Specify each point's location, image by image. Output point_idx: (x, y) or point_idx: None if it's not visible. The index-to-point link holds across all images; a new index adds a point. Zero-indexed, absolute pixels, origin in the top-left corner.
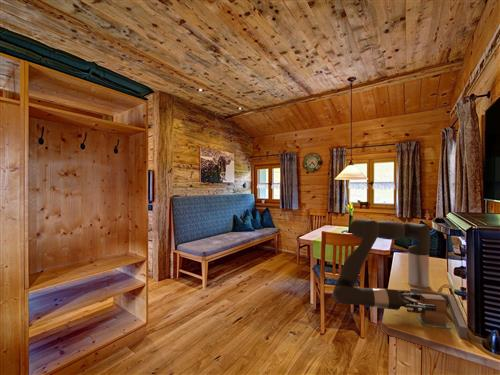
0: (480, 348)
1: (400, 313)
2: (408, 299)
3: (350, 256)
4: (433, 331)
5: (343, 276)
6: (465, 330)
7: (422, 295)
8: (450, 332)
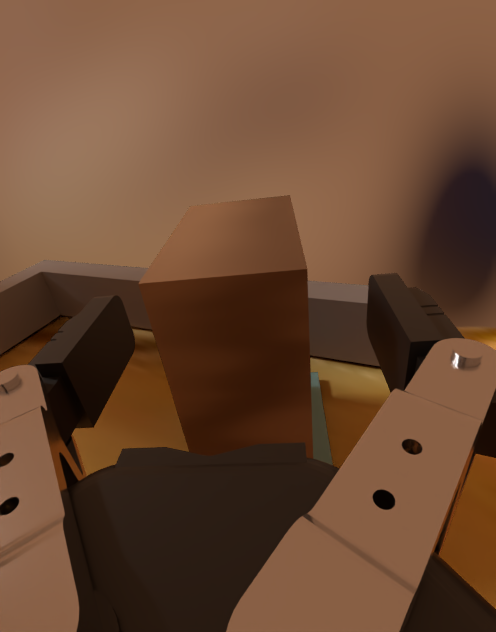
0: (474, 335)
1: None
2: (419, 597)
3: None
4: None
5: None
6: None
7: (202, 276)
8: (362, 394)
